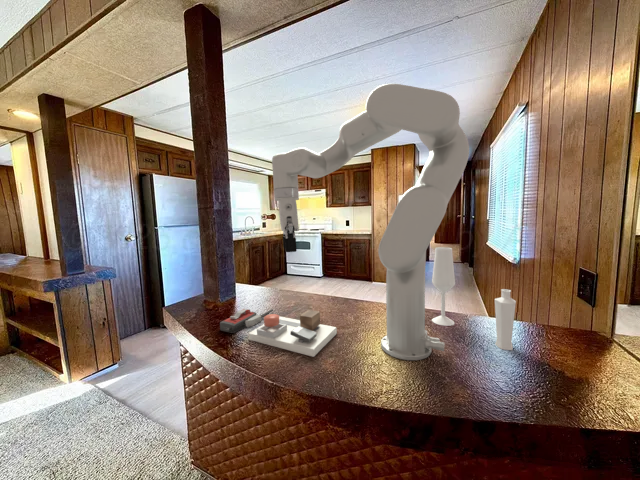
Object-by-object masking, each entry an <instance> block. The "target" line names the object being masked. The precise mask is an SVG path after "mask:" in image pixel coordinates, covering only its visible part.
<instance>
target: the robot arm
mask: <svg viewBox="0 0 640 480" xmlns="http://www.w3.org/2000/svg"><path fill="white" fill-rule="evenodd" d="M460 114H461V113H460V106H459V102H458V101H457V99H456V98H454V97H453V96H452V95H450V94H449V93H446V92H443V91H439V90H435V89H434V90H433V89H430V88H429V89H428V88H421V87H417V86H413V85H412V86H411V85H407V84H406V85H405V84H401V83H385V84H382V85H378V86H377V87H376V88H374V89H373V90H371V92H370V93H369V95H368V97H367V99H366V101H365V110H364V111H362V112H361V113H359V114H357V115H356V116H354V117H352V118H351V119H348V120H347V121H345V122H344V123H341V126H340V127H339V135H338V138H337V139H336V141H335V142H334V143H333V144H332V145H331V146H329V147H328V148H326V149H324V150H322V151H320V152H318V153H317V151H316V152H315V151H313V150H311V149H308V148H307V147H298V148H294V149H292V150H290V151H288V152H287V151H286V152H280V153H276V154H274V155H273V156H272V159H271V164H272V165H271V166H272V181H273V195H274V201H275V202H278V211H279V213H278V215H279V222H280V229H281V231H282V233H283V236H282V242H283V249H285V252H286V253H295V252H297V251H298V250H297V238H296V232H298V231H299V230H300V229H299V228H300V227H299V215H298V207H297V205H298V204H297V201H298V200H300V195H299V180H298V179H299V178H298V177H299V176H302V177H309V178H312V179H319V178H323V177H325V176H327V175H329V174H332V173H334V172H335V171H338V170H339V169H341V168H342V167H344V165H347V163H349V162H350V161H351V159H353V157H355V156H356V155H358V154H359V153H360V152H363V151H364V150H367V149H369V148H370V147H372V146H374V145H376V144H378V143H380V142H382V141H385V140H387V139H388V138H390V137H392V136H394V135H396V134H397V133H399V132H400V131H407V132H411V133H414V134H417V135H418V137H419V139H420V141H421V142H422V144H423V145H424V146H425V147H426V148H427V149H428V158H427V159H426V161H425V164H424V166H423V168H422V170H421V172H420V174H419V176H418V178H417V181H416V183H415V185H414V186H412V187H409V189H408V190H406V191H405V192H404V193H403V194H402V196H401V197H400V199H399V201H398V202H397V204H396V206H395V209H394V211H393V213H392V215H391V218H390V220H389V222H388V224H387V226H386V227H385V228H386V229H385V230H384V232H383V235H382V237H381V239H380V241H379V244H378V250H377V251H378V257H379V261H380V262H381V264H382V266H383V267H384V268H386V277H385V278H386V279H385V284H386V288H385V292H386V293H385V295H386V297H385V298H386V301H385V302H386V304H385V305H386V309H385V310H386V335H385V336H383V337H382V338H381V340H380V345H381V349H382V351H384V353H386V354H387V355H389V356H391V357H393V358H396V359H400V360H404V361H420V360H421V361H422V360H425V359H426V358H428V357H429V356H431V355H432V349H434V350H436V351H441V352H445V342H442V341H440V338H438V337H431V336H430V335H428V330H427V329H426V265H427V264H426V260H427V249H428V248H429V246H430V243H431V242H432V241H433V238H434V236H435V235H436V233H437V230H438V229H439V226H440V225H441V223H442V220H443V219H444V217H445V215H446V212H447V208H448V204H449V202H450V200H451V198H452V196H453V194H454V192H455V190H456V188H457V186H458V184H459V182H460V180H461V177H462V175H463V173H464V171H465V169H466V166H467V163H468V161H469V155H470V144H469V140H468V136H467V134H466V133H465V131H464V130H463V128H462V127H461V125H460V124H459V123H460V116H461V115H460ZM298 175H299V176H298Z"/></svg>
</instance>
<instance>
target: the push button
mask: <svg viewBox="0 0 640 480" xmlns="http://www.w3.org/2000/svg"><path fill="white" fill-rule="evenodd" d="M279 316H280V315H279V314H277V313H276V314H275V313H272V314H271V313H269V314H268V315H266V316H265V317H263V325H265V326H267V327H273V326H276V325H278V324H279Z"/></svg>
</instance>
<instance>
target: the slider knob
mask: <svg viewBox="0 0 640 480" xmlns="http://www.w3.org/2000/svg"><path fill="white" fill-rule="evenodd" d="M299 320H300V326H301V327H304V328H306V329H309V330H311V331H313V330H314V329H315V328H316V327H317V326H319V325H320V324H321V312H320V311H319V310H313V309H307V310H306V311H304V312H303V313H301V314H300V315H299Z"/></svg>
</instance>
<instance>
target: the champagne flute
mask: <svg viewBox="0 0 640 480" xmlns="http://www.w3.org/2000/svg"><path fill="white" fill-rule="evenodd" d="M433 257H434V259H433V269H432V277H431V278H432V279H431V284H432V285H433V286H434V288H435V289H437V290H438V291H439V292H441V293H440V294H441V296H440V298H441V299H440V303H441V305H440V315H438V316H435V317H434V318H432V319H431V322H432V323H434V324H436V325H439V326H445V327H446V326H447V327H449V326H454V325H455V321H454V320H453V319H451V318H449V317H447V316H446V293H448V292H449V291H451V290H452V289H453V288H454V287H455V285H456V277H455V267H454V255H453V248H452V247H443V246H442V247H441V246H440V247H435V249H434V256H433Z"/></svg>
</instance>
